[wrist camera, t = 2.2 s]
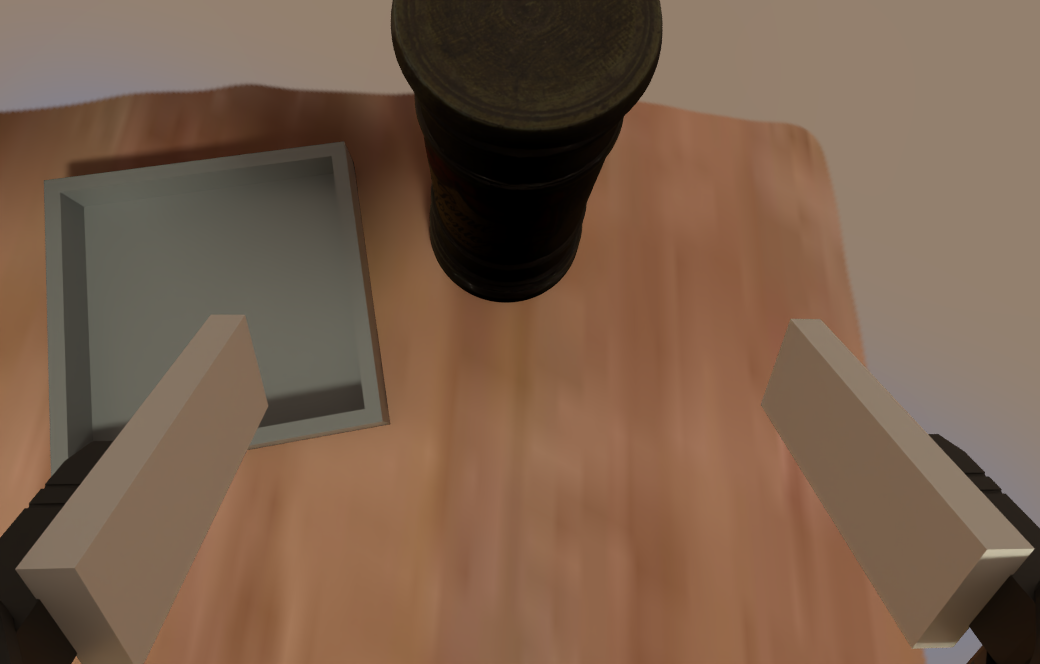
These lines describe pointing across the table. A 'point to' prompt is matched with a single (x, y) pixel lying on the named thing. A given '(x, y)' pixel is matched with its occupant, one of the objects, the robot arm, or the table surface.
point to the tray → (211, 290)
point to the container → (519, 125)
